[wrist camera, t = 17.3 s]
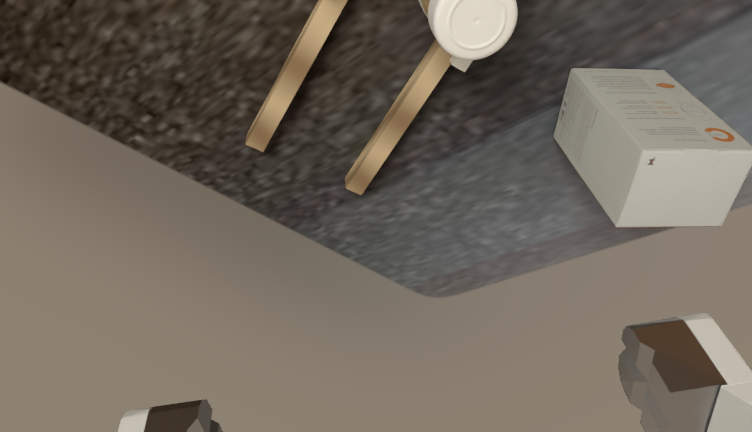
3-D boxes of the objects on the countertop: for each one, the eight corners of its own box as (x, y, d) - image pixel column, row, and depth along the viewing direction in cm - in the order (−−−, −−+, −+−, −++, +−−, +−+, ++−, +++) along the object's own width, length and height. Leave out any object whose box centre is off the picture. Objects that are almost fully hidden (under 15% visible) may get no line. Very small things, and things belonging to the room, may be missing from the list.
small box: (551, 137, 53) (613, 229, 42) (569, 66, 49) (642, 148, 39) (641, 138, 54) (723, 229, 43) (666, 68, 50) (762, 149, 40)
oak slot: (359, 184, 54) (361, 195, 52) (246, 134, 50) (245, 144, 48) (452, 47, 47) (456, 55, 46) (330, -23, 43) (331, -17, 42)
